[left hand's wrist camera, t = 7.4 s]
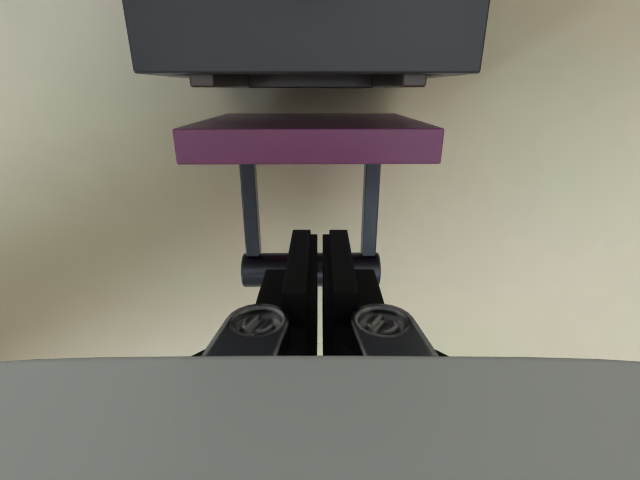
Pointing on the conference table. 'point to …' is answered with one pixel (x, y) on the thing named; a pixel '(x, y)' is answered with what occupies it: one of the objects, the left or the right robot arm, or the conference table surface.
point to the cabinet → (306, 36)
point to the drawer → (307, 151)
